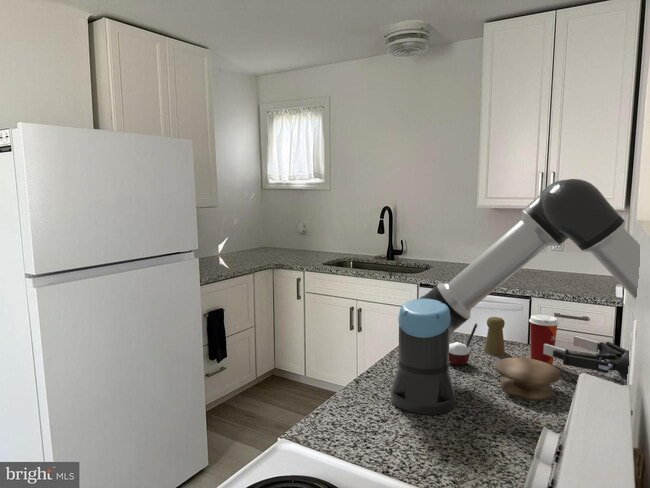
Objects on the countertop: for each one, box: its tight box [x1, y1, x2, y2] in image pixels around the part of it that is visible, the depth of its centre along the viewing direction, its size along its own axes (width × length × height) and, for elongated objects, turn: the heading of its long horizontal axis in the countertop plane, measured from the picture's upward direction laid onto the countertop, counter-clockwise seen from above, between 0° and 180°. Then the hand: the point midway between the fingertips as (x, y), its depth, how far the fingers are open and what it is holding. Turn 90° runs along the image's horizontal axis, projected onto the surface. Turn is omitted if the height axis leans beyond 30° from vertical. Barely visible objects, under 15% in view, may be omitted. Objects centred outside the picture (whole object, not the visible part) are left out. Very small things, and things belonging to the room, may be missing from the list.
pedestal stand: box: [494, 357, 562, 401], centre depth 116 cm, size 15×15×6 cm
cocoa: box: [449, 323, 478, 367], centre depth 133 cm, size 10×6×12 cm, turn 57°
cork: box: [484, 316, 506, 356], centre depth 142 cm, size 6×6×11 cm
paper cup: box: [528, 314, 560, 366], centre depth 132 cm, size 8×8×14 cm
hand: (559, 344), depth 128 cm, fingers open, 13 cm apart
